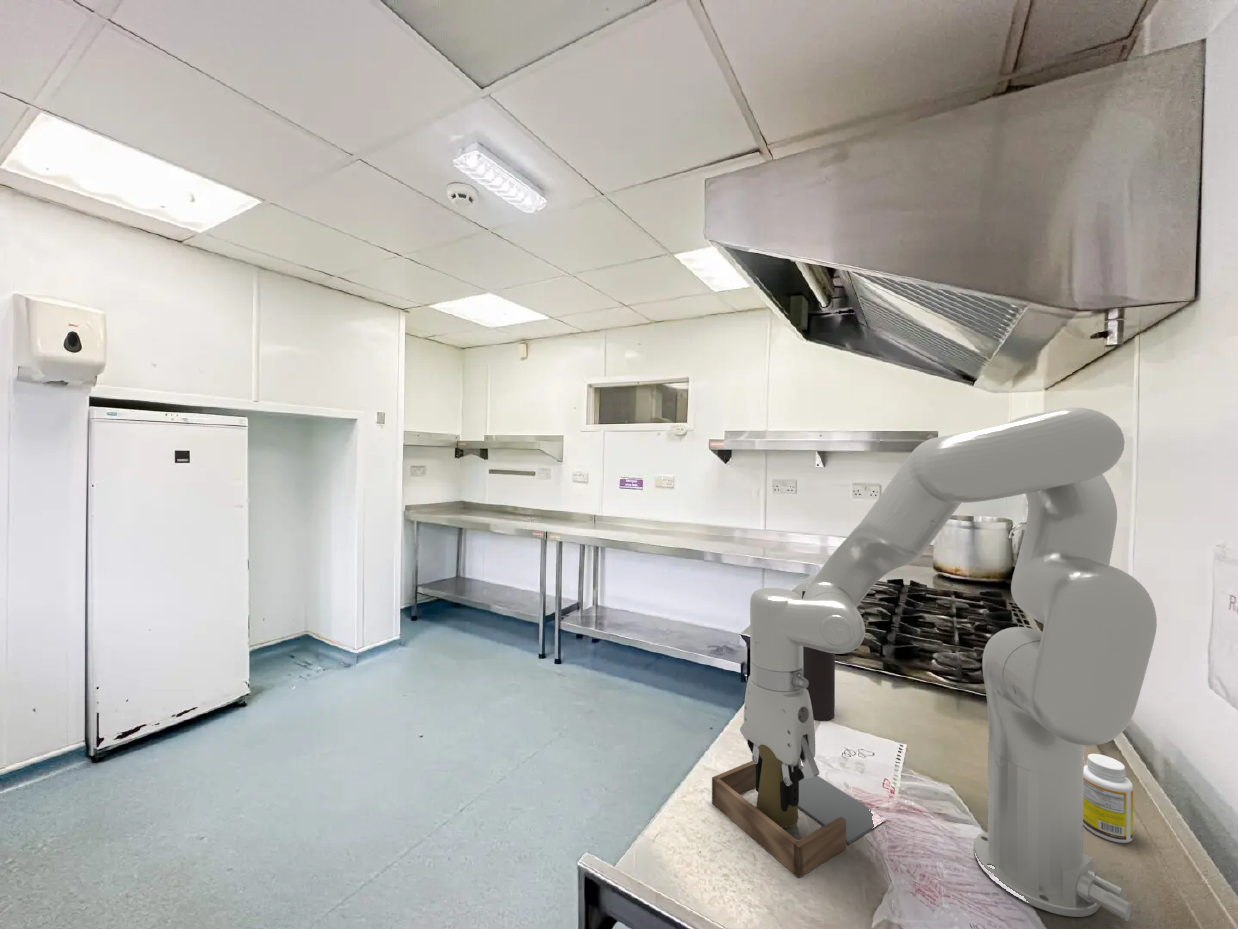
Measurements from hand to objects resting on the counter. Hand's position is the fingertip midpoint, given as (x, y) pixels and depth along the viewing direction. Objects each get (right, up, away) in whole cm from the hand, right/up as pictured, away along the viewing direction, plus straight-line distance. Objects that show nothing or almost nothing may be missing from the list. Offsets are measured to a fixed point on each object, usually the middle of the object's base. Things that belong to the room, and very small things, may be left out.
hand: (776, 797), depth 74 cm
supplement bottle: (+48, -5, -1) cm, 48 cm away
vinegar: (+19, -4, +33) cm, 39 cm away
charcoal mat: (+9, -4, +5) cm, 11 cm away
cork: (0, -2, 0) cm, 2 cm away
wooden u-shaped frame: (0, -4, 0) cm, 4 cm away
